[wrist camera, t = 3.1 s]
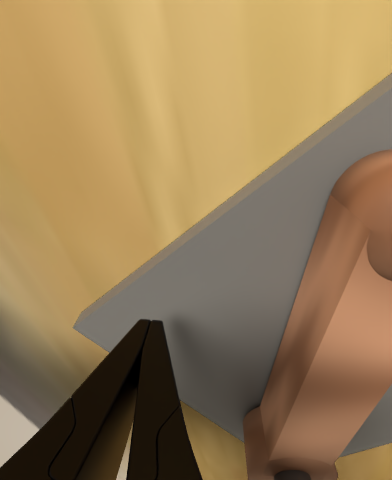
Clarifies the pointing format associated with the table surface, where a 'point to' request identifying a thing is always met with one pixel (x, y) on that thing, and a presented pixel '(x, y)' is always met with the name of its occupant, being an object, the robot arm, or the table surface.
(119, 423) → the robot arm
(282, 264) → the board
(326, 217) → the link
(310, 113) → the table surface
